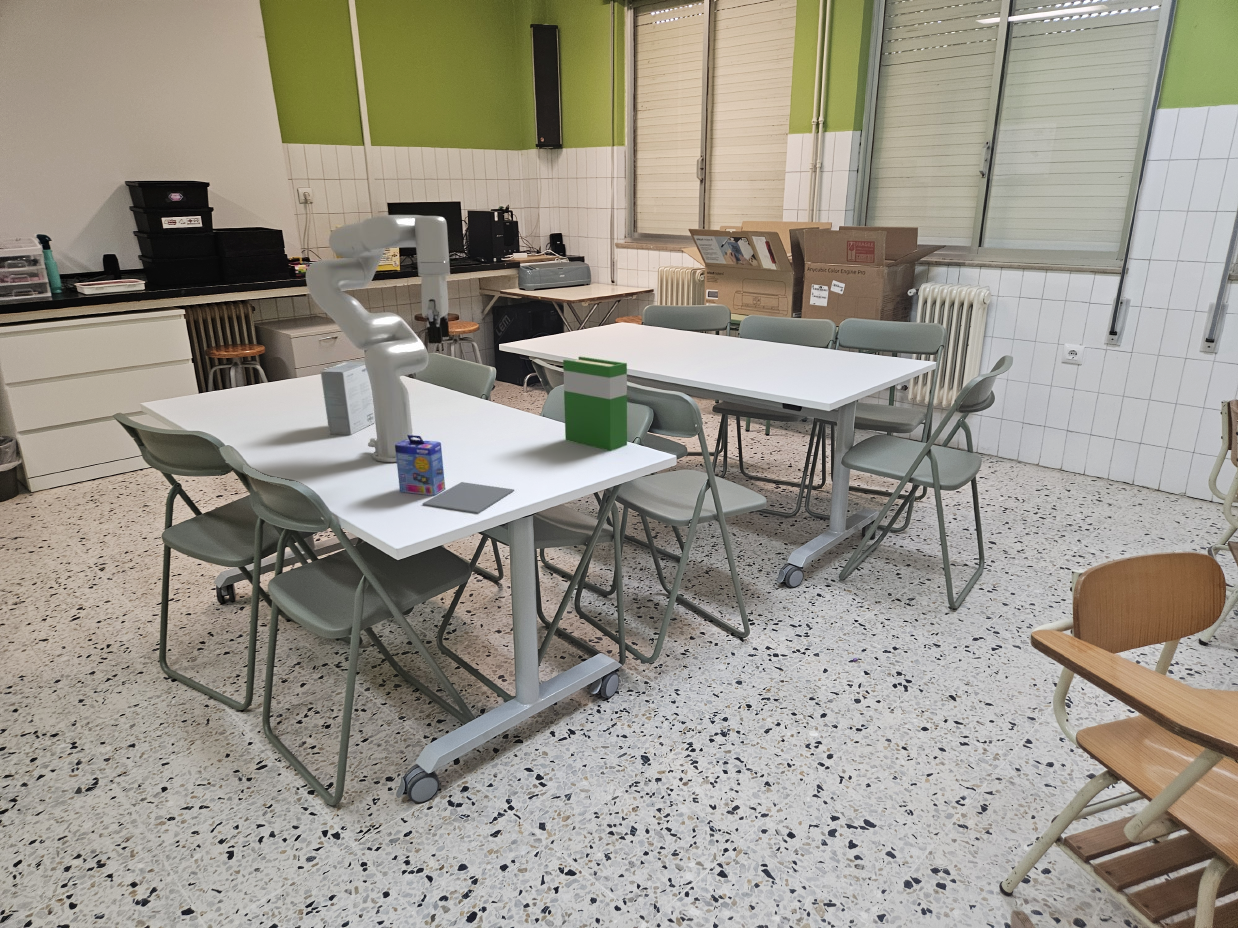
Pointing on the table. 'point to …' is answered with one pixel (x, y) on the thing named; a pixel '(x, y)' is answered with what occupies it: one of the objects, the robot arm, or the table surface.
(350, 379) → the hard drive box
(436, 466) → the ink cartridge box
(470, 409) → the table surface
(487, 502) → the mat
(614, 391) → the hardback book
